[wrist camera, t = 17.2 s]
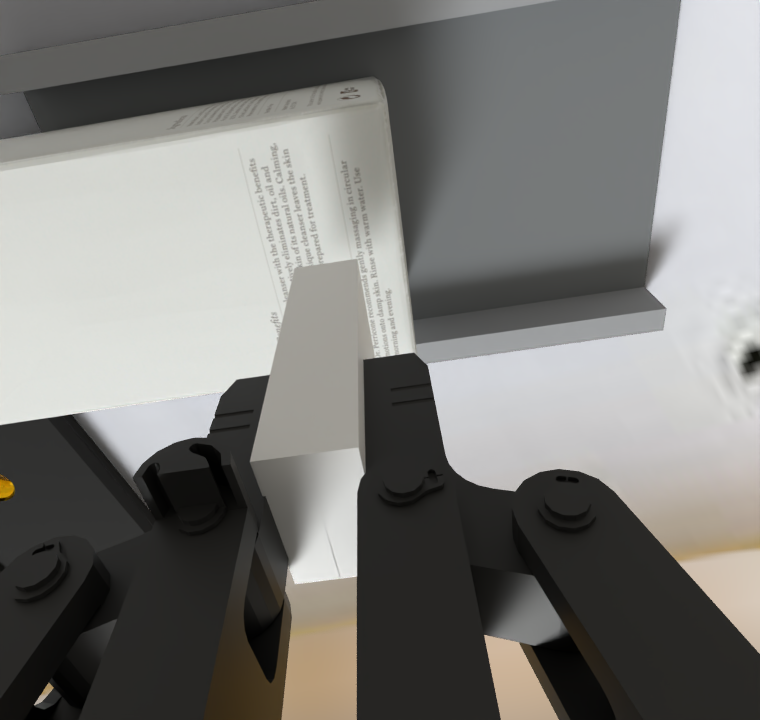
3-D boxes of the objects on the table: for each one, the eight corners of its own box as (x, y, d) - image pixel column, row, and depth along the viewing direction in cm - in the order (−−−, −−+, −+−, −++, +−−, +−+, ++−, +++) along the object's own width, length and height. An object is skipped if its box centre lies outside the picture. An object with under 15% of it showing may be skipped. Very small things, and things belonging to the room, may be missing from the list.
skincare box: (384, 71, 19) (-55, 132, 19) (392, 96, 13) (-224, 181, 14) (407, 293, 23) (49, 336, 24) (421, 383, 18) (-47, 436, 18)
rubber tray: (154, 372, 25) (137, 404, 23) (13, 54, 18) (-29, 60, 16) (637, 303, 24) (663, 330, 22) (682, -63, 17) (725, -71, 15)
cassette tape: (-168, 421, 27) (-206, 451, 25) (34, 355, 25) (9, 382, 24) (58, 622, 36) (43, 654, 35) (217, 582, 35) (209, 614, 33)
